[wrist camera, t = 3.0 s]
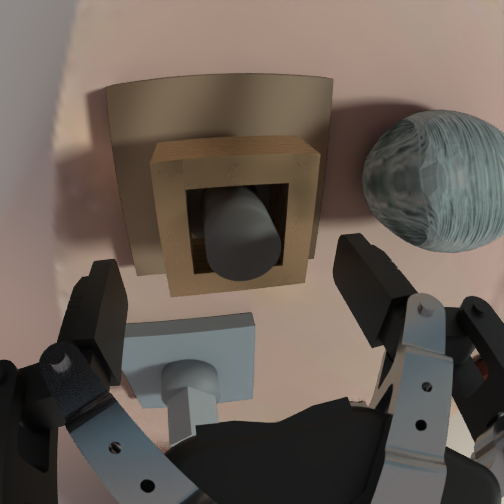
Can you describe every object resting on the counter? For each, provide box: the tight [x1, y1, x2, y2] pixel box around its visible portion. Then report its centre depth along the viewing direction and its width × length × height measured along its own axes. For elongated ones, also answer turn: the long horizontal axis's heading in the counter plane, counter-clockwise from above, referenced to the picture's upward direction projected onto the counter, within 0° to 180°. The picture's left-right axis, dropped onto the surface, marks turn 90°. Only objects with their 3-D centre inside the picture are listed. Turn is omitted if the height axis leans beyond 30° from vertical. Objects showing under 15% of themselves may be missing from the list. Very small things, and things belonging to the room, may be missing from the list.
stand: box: [106, 73, 333, 281], centre depth 15 cm, size 12×12×8 cm
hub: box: [122, 312, 255, 446], centre depth 25 cm, size 12×12×8 cm
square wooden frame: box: [150, 135, 320, 297], centre depth 14 cm, size 6×6×3 cm
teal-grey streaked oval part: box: [362, 110, 504, 253], centre depth 17 cm, size 14×10×10 cm
